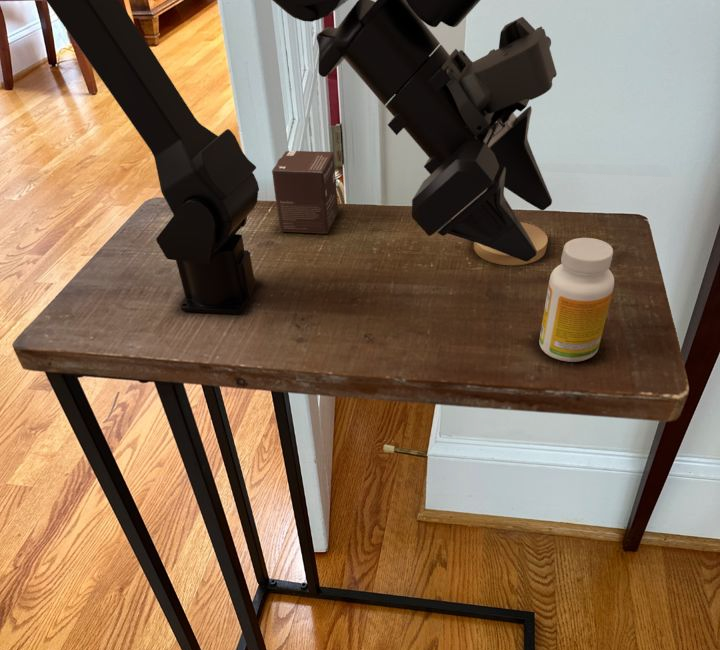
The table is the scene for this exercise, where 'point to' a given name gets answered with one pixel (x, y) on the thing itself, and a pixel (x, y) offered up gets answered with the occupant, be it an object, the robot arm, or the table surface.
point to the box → (305, 191)
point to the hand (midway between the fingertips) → (540, 230)
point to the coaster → (501, 258)
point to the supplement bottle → (577, 301)
